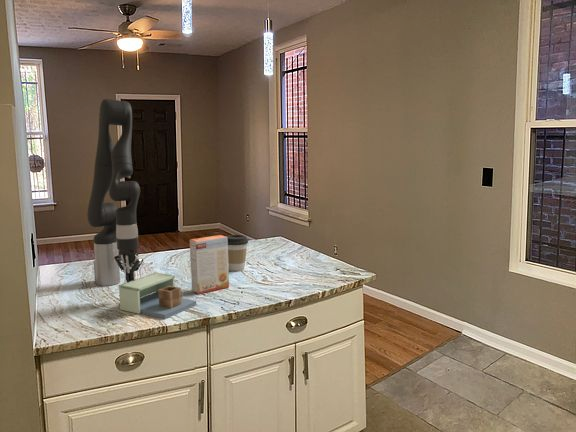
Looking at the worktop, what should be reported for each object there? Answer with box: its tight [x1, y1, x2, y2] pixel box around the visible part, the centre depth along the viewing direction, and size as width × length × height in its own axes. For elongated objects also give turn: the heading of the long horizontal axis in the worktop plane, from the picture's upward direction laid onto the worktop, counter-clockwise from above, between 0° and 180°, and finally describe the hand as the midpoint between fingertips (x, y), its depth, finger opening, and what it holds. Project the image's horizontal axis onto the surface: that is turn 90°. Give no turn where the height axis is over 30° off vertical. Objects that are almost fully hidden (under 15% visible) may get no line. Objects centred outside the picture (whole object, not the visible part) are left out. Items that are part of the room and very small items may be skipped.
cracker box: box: [189, 234, 230, 295], centre depth 198 cm, size 14×6×21 cm, turn 127°
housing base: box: [140, 292, 197, 320], centre depth 180 cm, size 20×16×6 cm
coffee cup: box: [226, 234, 249, 272], centre depth 228 cm, size 11×11×15 cm
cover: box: [118, 272, 176, 314], centre depth 182 cm, size 9×18×9 cm, turn 150°
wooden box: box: [158, 286, 182, 309], centre depth 177 cm, size 5×5×6 cm
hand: (129, 282), depth 186 cm, fingers closed
